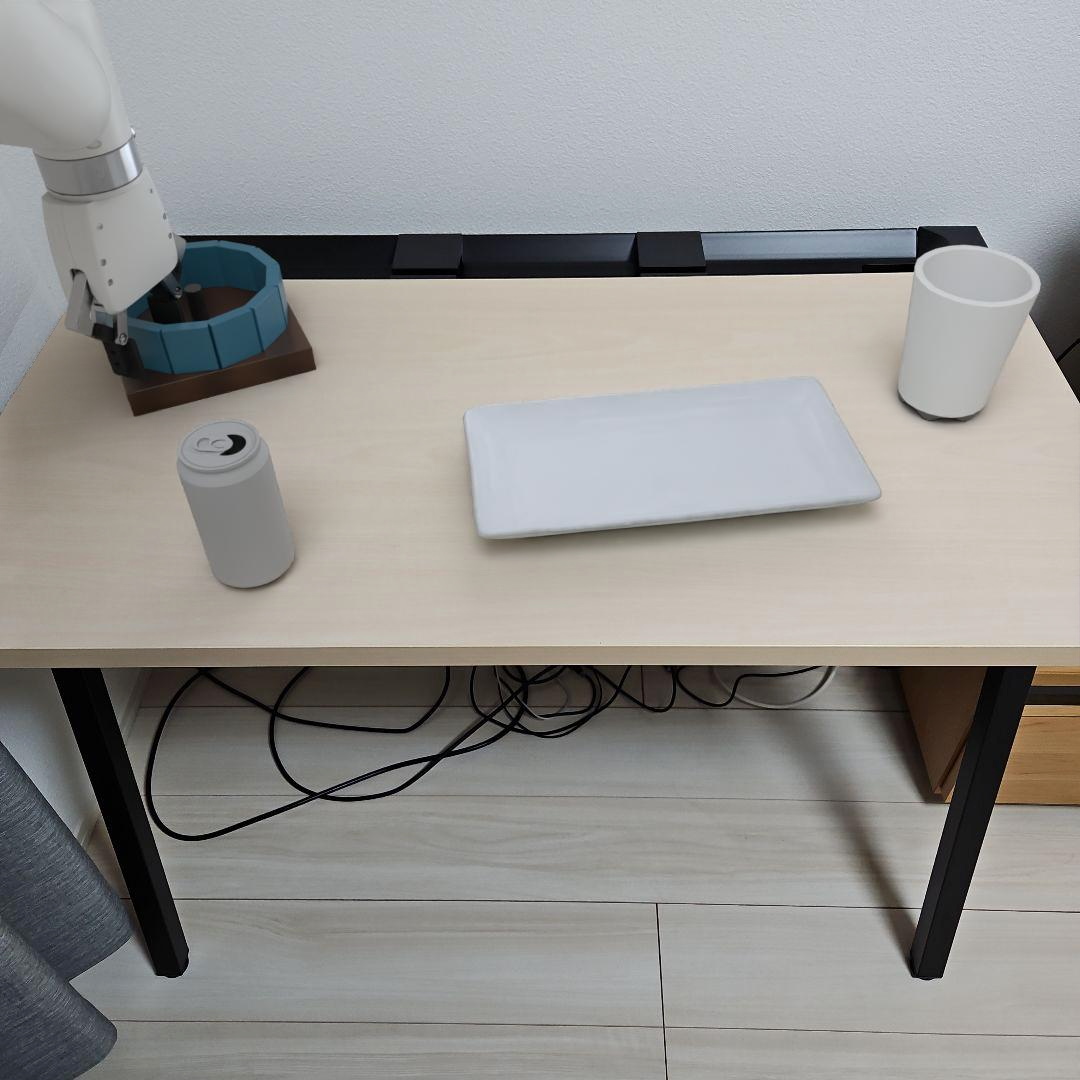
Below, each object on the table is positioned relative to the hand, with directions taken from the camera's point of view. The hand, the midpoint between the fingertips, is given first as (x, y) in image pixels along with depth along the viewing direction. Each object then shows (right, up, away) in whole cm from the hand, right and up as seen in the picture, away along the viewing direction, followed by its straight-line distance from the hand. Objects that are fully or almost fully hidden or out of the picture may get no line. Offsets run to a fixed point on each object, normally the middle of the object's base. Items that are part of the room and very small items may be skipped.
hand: (152, 354), depth 95 cm
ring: (+3, +4, +6) cm, 8 cm away
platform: (+3, +2, +8) cm, 8 cm away
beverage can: (+13, -19, -14) cm, 27 cm away
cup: (+71, -4, -1) cm, 71 cm away
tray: (+45, -12, -8) cm, 47 cm away
